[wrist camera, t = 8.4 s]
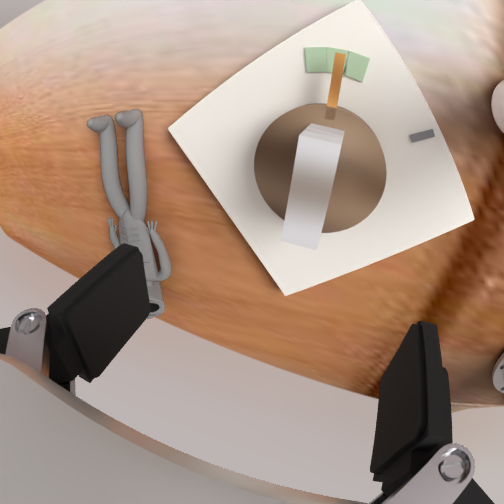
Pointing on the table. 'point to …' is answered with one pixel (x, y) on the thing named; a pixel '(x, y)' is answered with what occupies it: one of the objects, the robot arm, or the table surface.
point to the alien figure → (132, 199)
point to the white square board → (351, 98)
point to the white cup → (498, 105)
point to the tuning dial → (320, 168)
